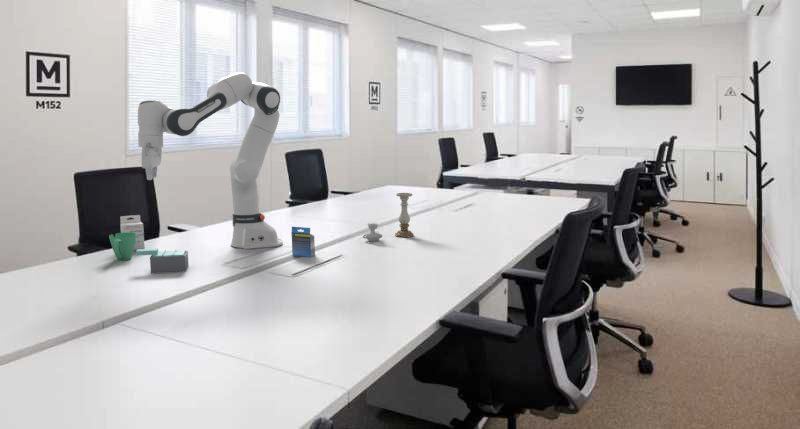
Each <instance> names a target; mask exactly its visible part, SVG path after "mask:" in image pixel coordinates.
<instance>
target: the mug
mask: <svg viewBox="0 0 800 429" xmlns="http://www.w3.org/2000/svg"><path fill="white" fill-rule="evenodd" d="M108 238H109V241H110V244H111V247H112V250H113V253H114V255H115V257H116V259H117V260H118V261H121V262H122V261H128V260H129V259H130V260H131V259H132V257H133V253H134V251H133V250H134V246H135V240H136V234H135V233H121V232H117V233H115V234H112V233H111V234H109V235H108Z"/></svg>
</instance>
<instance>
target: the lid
mask: <svg viewBox="0 0 800 429" xmlns="http://www.w3.org/2000/svg"><path fill="white" fill-rule="evenodd" d="M186 251H187V250H184V249H183V250H177V249H175V250H166V249H165V250H163V251H161V250H159V248H145V249H138V250H137V251H136V256H151V255H153V256H152V257H168V256H184V255H185V253H186Z"/></svg>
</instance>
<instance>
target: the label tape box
mask: <svg viewBox="0 0 800 429" xmlns="http://www.w3.org/2000/svg"><path fill="white" fill-rule="evenodd" d="M315 245H316V244H315V235H313V234H311V227H302V226H301V227H300V226H291V250H292V251H291V252H292V256H293V257H305V258H306V257H308V258H309V257H310V258H312V257H314V256H315V255H316V246H315Z"/></svg>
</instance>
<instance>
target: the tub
mask: <svg viewBox="0 0 800 429" xmlns="http://www.w3.org/2000/svg"><path fill="white" fill-rule="evenodd" d="M152 256H153V255H150V256H149V263H150V266H149V267H150V274H167V273H170V274H171V273H185V272H187V270H188V268H189V252H188V250H186V253H185V255H184V256H168V257H152Z"/></svg>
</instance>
